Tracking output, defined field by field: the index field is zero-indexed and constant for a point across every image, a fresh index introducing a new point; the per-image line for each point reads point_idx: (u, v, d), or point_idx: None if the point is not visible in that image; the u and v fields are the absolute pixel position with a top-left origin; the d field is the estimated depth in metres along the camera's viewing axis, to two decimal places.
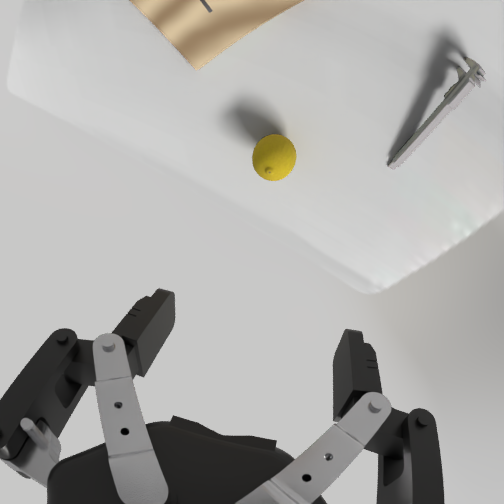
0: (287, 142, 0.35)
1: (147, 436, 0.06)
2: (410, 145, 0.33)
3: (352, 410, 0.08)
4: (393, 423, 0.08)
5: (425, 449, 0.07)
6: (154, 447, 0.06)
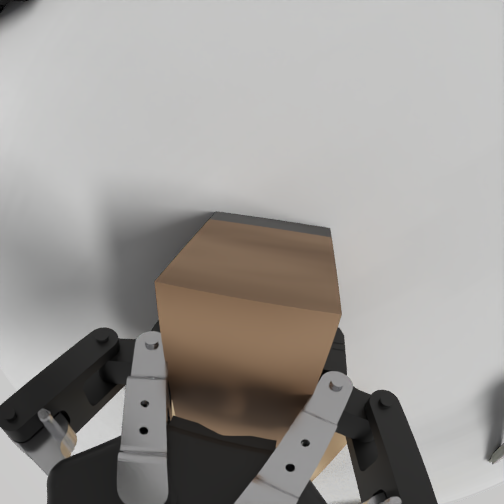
0: None
1: (165, 440, 0.06)
2: (500, 458, 0.17)
3: None
4: (356, 403, 0.09)
5: (395, 430, 0.07)
6: (170, 451, 0.06)
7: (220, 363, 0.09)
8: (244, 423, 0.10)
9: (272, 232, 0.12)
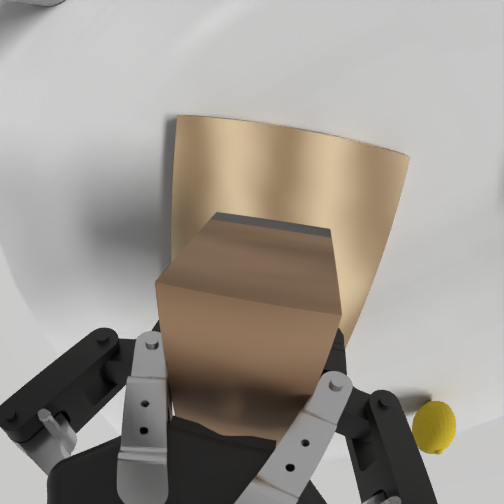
0: (440, 415, 0.24)
1: (165, 440, 0.06)
2: None
3: None
4: (355, 403, 0.09)
5: (395, 429, 0.07)
6: (170, 451, 0.06)
7: (220, 363, 0.09)
8: (244, 424, 0.10)
9: (272, 233, 0.12)
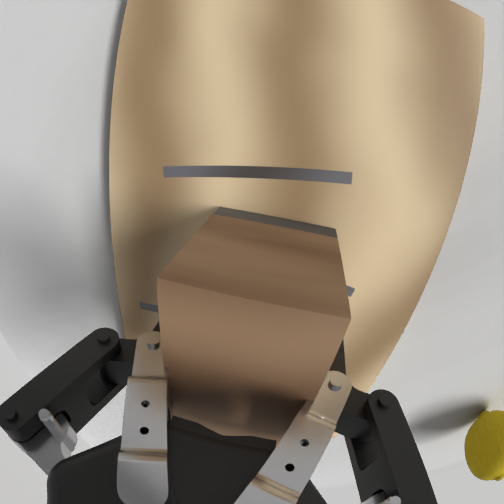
0: None
1: (165, 440, 0.06)
2: None
3: None
4: (354, 403, 0.09)
5: (394, 429, 0.07)
6: (170, 451, 0.06)
7: (221, 364, 0.08)
8: (241, 425, 0.10)
9: (277, 230, 0.11)
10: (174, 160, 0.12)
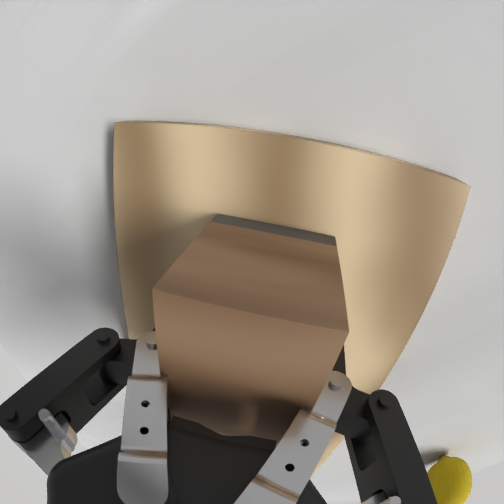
0: (456, 476, 0.17)
1: (165, 440, 0.06)
2: None
3: None
4: (355, 403, 0.09)
5: (394, 429, 0.07)
6: (170, 452, 0.06)
7: (218, 375, 0.08)
8: (239, 434, 0.10)
9: (276, 238, 0.11)
10: None
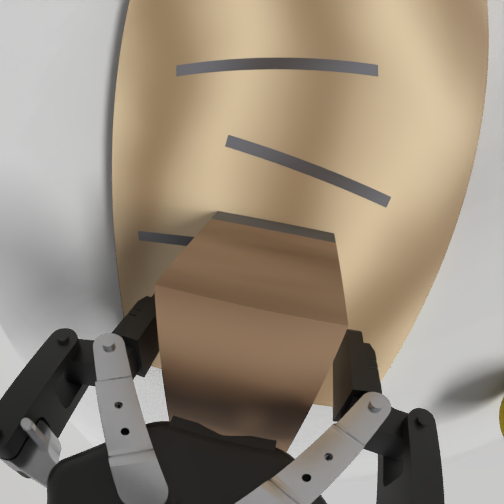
0: None
1: (147, 436, 0.06)
2: None
3: (352, 410, 0.08)
4: (393, 423, 0.08)
5: (425, 449, 0.07)
6: (154, 447, 0.06)
7: (219, 370, 0.08)
8: (240, 430, 0.10)
9: (276, 235, 0.11)
10: (189, 58, 0.10)
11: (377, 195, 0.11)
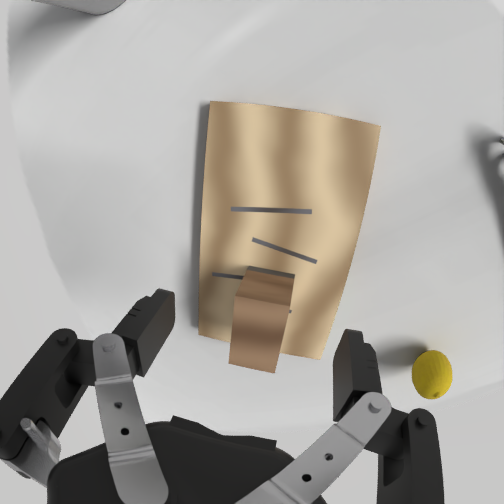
0: (435, 359, 0.30)
1: (147, 436, 0.06)
2: None
3: (352, 410, 0.08)
4: (393, 423, 0.08)
5: (425, 449, 0.07)
6: (154, 447, 0.06)
7: (252, 322, 0.28)
8: (258, 350, 0.29)
9: (271, 276, 0.30)
10: (236, 204, 0.30)
11: (311, 259, 0.30)
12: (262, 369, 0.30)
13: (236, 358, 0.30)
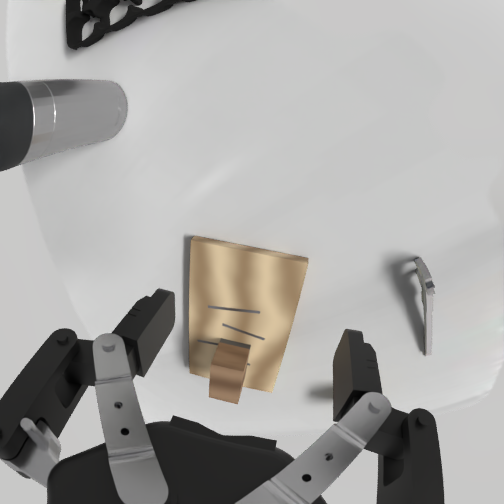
0: None
1: (147, 436, 0.06)
2: (426, 343, 0.41)
3: (352, 410, 0.08)
4: (393, 423, 0.08)
5: (425, 449, 0.07)
6: (154, 447, 0.06)
7: (222, 377, 0.43)
8: (226, 391, 0.44)
9: (234, 347, 0.46)
10: (211, 304, 0.45)
11: (261, 337, 0.46)
12: (229, 401, 0.46)
13: (213, 394, 0.46)
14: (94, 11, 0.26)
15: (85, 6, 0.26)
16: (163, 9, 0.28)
